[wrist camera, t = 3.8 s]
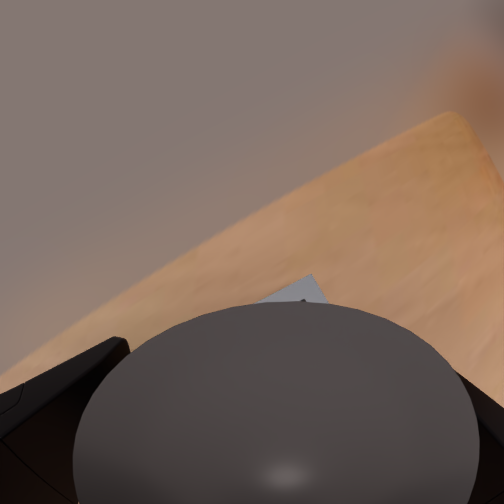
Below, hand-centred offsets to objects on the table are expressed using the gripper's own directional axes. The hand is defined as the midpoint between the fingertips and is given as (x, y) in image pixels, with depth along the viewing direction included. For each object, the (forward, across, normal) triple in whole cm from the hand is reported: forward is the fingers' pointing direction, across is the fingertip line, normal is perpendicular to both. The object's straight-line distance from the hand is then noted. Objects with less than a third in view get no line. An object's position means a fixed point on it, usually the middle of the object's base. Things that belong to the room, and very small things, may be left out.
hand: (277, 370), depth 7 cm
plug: (+4, 0, +6) cm, 7 cm away
